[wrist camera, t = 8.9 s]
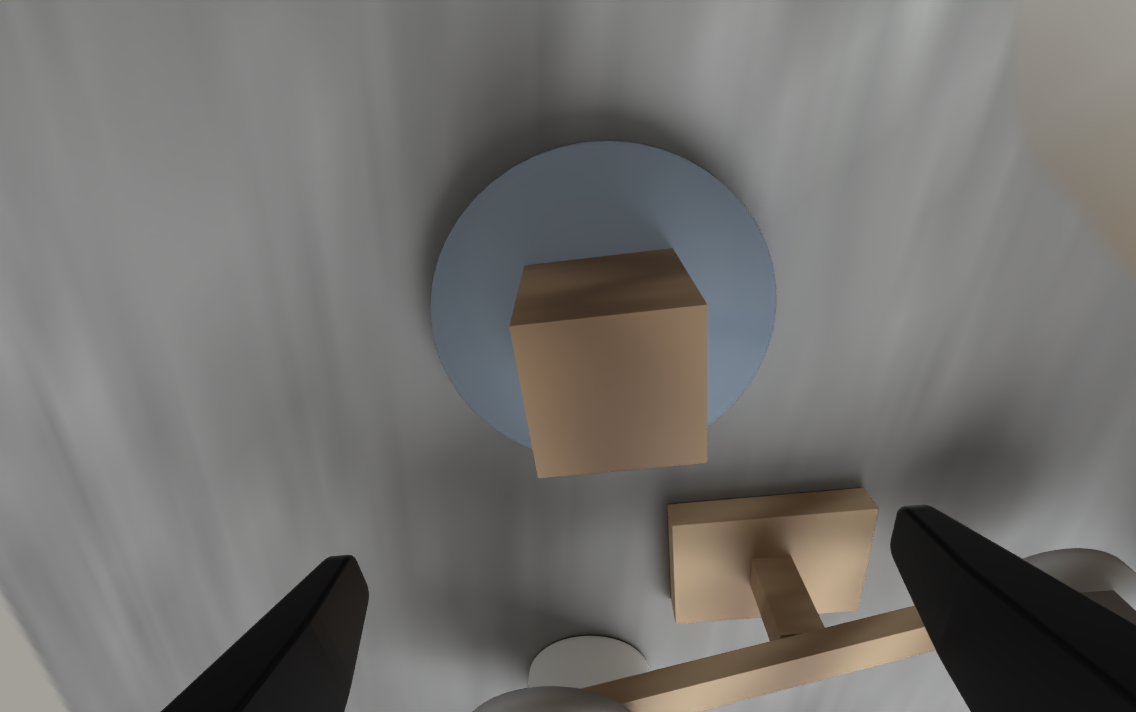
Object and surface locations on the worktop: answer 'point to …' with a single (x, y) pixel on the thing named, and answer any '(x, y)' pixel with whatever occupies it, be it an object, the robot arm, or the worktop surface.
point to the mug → (585, 662)
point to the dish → (592, 229)
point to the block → (612, 363)
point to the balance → (787, 603)
